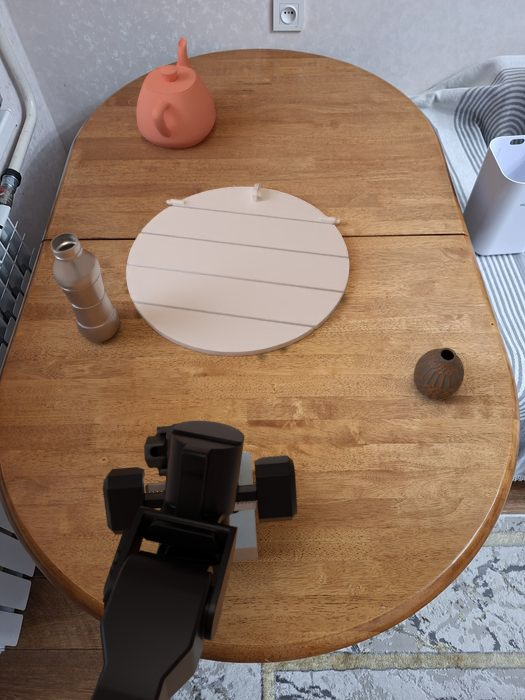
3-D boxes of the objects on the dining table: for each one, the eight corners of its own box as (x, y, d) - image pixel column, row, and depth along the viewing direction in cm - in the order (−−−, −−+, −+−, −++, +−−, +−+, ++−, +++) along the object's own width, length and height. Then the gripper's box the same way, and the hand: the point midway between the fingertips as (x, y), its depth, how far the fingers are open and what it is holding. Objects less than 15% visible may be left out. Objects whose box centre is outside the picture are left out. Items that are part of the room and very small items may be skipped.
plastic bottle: (73, 335, 90) (28, 247, 73) (102, 308, 93) (65, 218, 76) (102, 353, 88) (62, 267, 71) (131, 325, 91) (99, 236, 74)
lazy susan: (164, 178, 111) (161, 164, 108) (358, 199, 107) (360, 185, 104) (95, 337, 89) (89, 324, 87) (335, 372, 85) (337, 360, 82)
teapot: (157, 91, 129) (146, 32, 118) (227, 96, 127) (222, 36, 116) (126, 158, 115) (110, 98, 104) (204, 165, 114) (196, 104, 102)
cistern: (258, 559, 69) (256, 542, 63) (179, 566, 69) (169, 549, 63) (252, 469, 76) (250, 445, 70) (180, 475, 76) (171, 451, 69)
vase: (455, 370, 85) (472, 337, 77) (456, 409, 81) (474, 379, 74) (410, 364, 85) (422, 331, 78) (408, 403, 82) (421, 371, 74)
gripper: (298, 435, 46) (283, 388, 62) (75, 453, 46) (117, 401, 61) (305, 555, 49) (289, 481, 64) (92, 573, 48) (128, 494, 63)
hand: (207, 462), depth 63 cm, fingers closed
